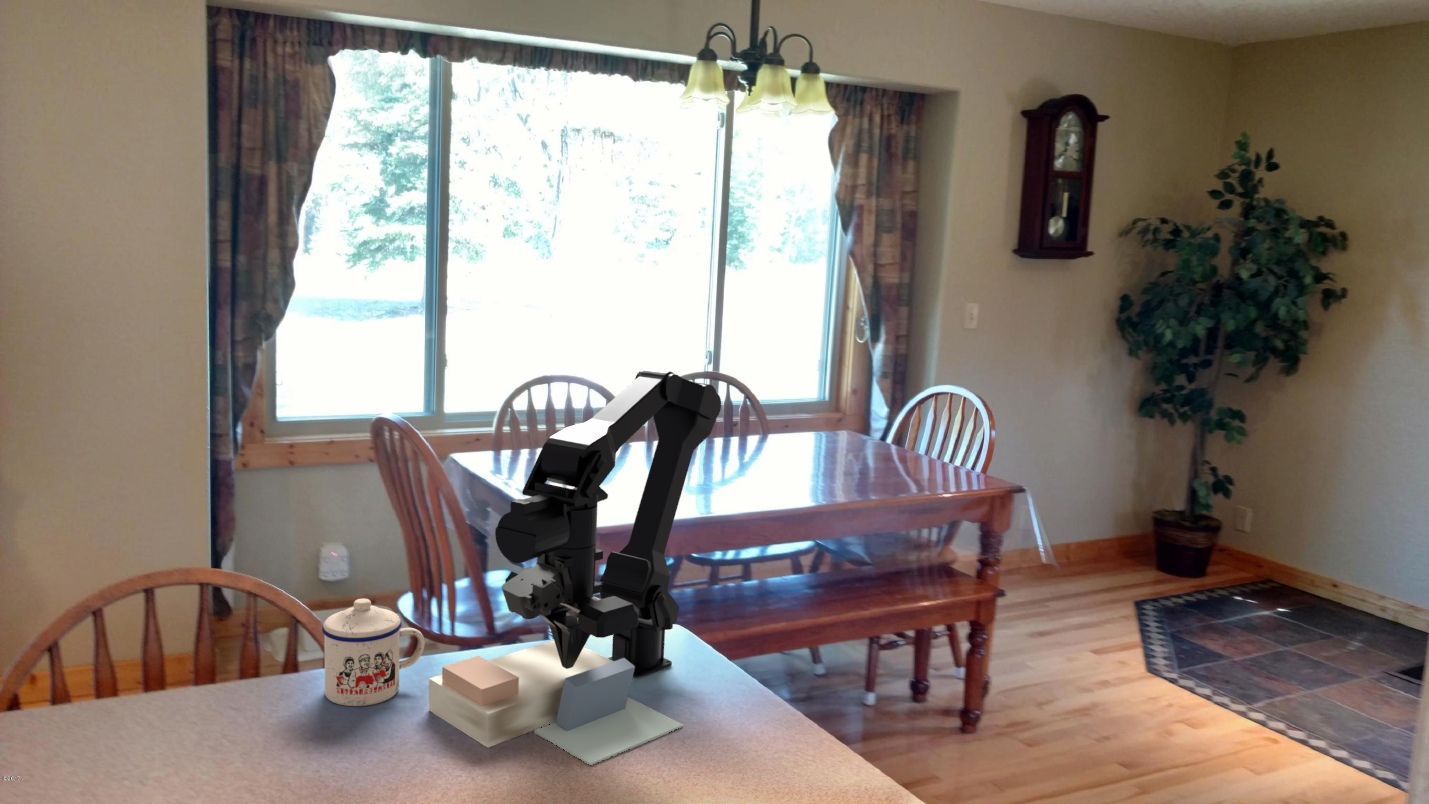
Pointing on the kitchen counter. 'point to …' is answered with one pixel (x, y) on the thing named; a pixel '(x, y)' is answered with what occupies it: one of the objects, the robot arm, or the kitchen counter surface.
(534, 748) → the kitchen counter surface
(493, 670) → the terracotta tile
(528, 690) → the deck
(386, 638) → the teacup with lid
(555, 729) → the mat
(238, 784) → the kitchen counter surface
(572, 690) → the grey-blue rectangular block
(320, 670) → the kitchen counter surface
